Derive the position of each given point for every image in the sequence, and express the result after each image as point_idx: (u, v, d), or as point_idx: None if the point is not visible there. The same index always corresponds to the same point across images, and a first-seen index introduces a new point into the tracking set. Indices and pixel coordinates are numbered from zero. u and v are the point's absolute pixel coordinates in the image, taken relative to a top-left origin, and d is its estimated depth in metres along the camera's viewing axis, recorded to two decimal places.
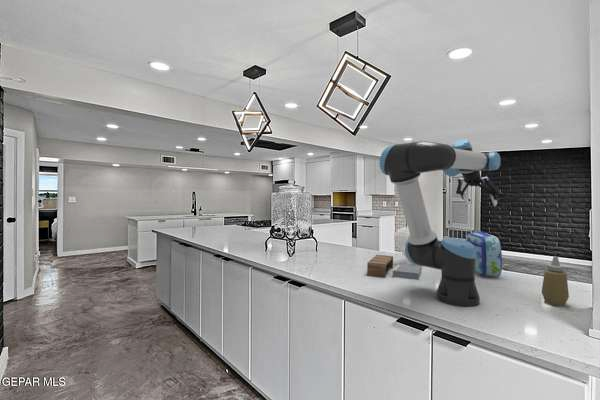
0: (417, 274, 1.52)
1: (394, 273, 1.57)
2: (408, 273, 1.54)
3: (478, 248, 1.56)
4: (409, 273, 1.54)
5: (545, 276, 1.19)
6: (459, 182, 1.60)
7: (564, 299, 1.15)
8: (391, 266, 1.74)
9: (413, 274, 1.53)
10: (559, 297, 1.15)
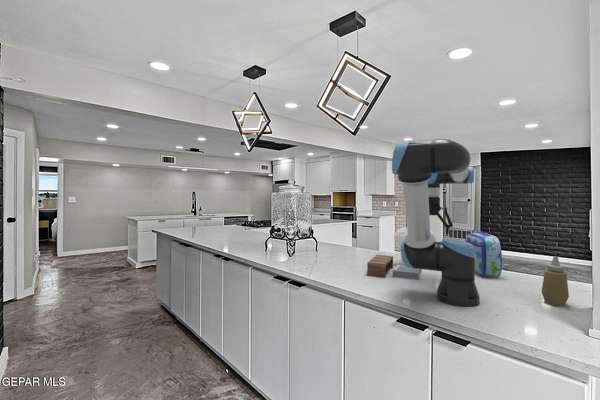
0: (417, 274, 1.52)
1: (394, 273, 1.57)
2: (408, 273, 1.54)
3: (478, 248, 1.56)
4: (409, 273, 1.54)
5: (545, 276, 1.19)
6: None
7: (564, 299, 1.15)
8: (391, 266, 1.74)
9: (413, 274, 1.53)
10: (559, 297, 1.15)
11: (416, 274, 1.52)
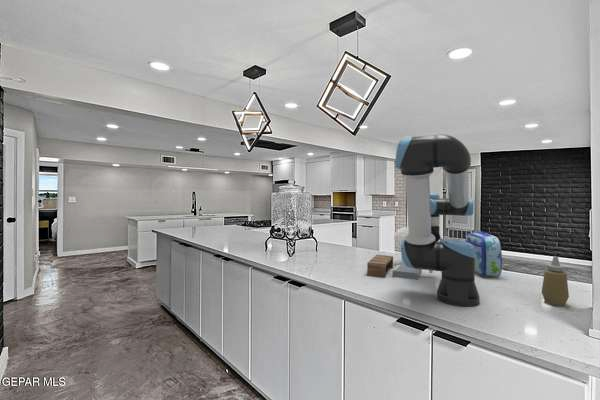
0: (416, 274, 1.52)
1: (394, 273, 1.57)
2: (408, 273, 1.54)
3: (478, 248, 1.56)
4: (408, 273, 1.54)
5: (545, 276, 1.19)
6: None
7: (564, 299, 1.15)
8: (391, 266, 1.74)
9: (412, 274, 1.53)
10: (559, 297, 1.15)
11: (416, 274, 1.52)
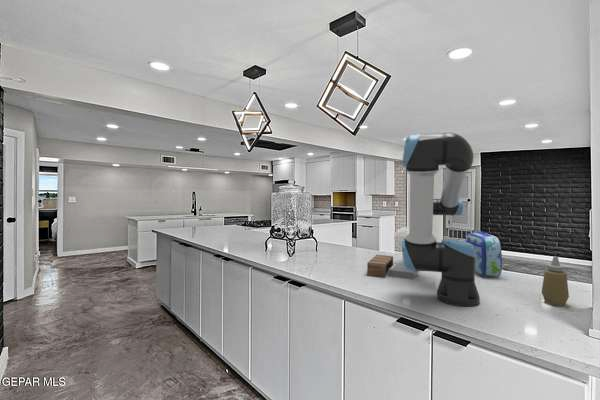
0: (412, 273, 1.53)
1: (389, 272, 1.58)
2: (403, 272, 1.55)
3: (478, 248, 1.56)
4: (404, 272, 1.55)
5: (545, 276, 1.19)
6: None
7: (564, 299, 1.15)
8: (391, 266, 1.74)
9: (408, 273, 1.54)
10: (559, 297, 1.15)
11: (411, 273, 1.53)
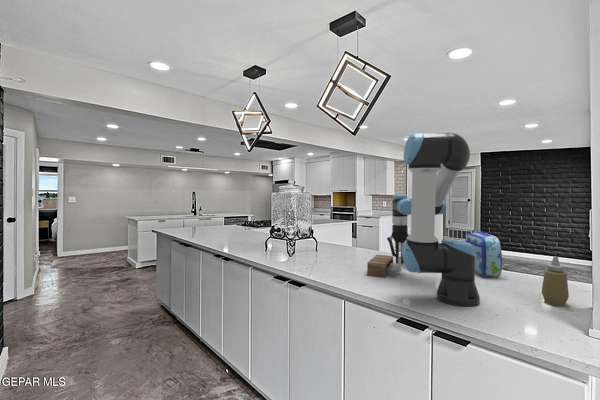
0: (395, 271, 1.57)
1: None
2: (386, 270, 1.58)
3: (478, 248, 1.56)
4: (387, 270, 1.58)
5: (545, 276, 1.19)
6: (389, 240, 1.64)
7: (564, 299, 1.15)
8: None
9: (391, 271, 1.57)
10: (559, 297, 1.15)
11: (394, 271, 1.57)
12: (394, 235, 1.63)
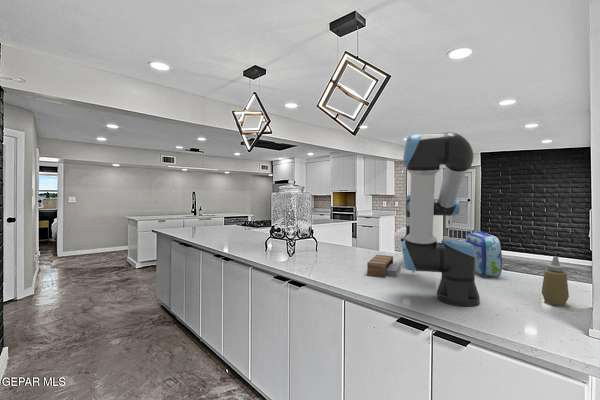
0: (395, 272, 1.57)
1: None
2: (386, 271, 1.58)
3: (478, 248, 1.56)
4: (387, 271, 1.58)
5: (545, 276, 1.19)
6: None
7: (564, 299, 1.15)
8: None
9: (391, 272, 1.57)
10: (559, 297, 1.15)
11: (394, 272, 1.57)
12: None
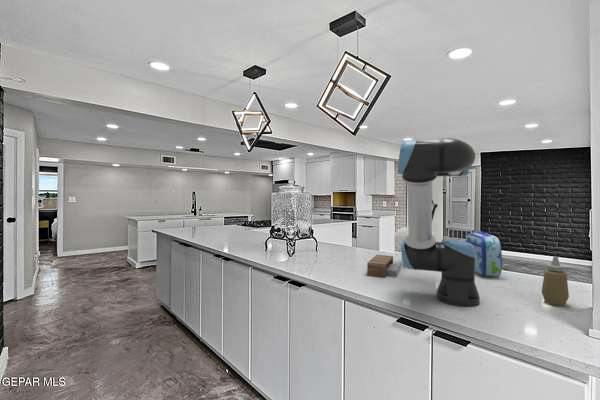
0: (395, 272, 1.57)
1: None
2: (386, 271, 1.58)
3: (478, 248, 1.56)
4: (387, 271, 1.58)
5: (545, 276, 1.19)
6: None
7: (564, 299, 1.15)
8: None
9: (391, 272, 1.57)
10: (559, 297, 1.15)
11: (394, 272, 1.57)
12: None
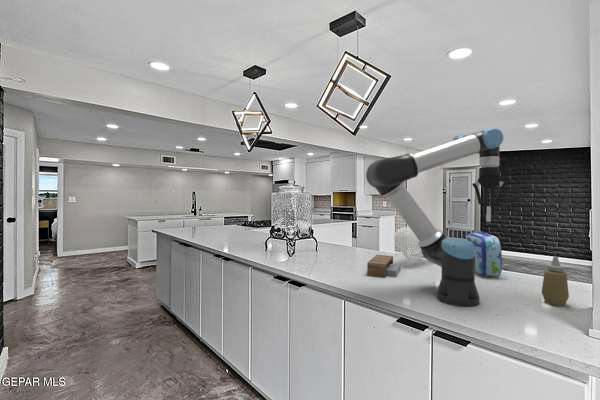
0: (395, 272, 1.57)
1: None
2: (386, 271, 1.58)
3: (478, 248, 1.56)
4: (387, 271, 1.58)
5: (545, 276, 1.19)
6: (475, 186, 1.38)
7: (564, 299, 1.15)
8: None
9: (391, 272, 1.57)
10: (559, 297, 1.15)
11: (394, 272, 1.57)
12: (482, 180, 1.37)
